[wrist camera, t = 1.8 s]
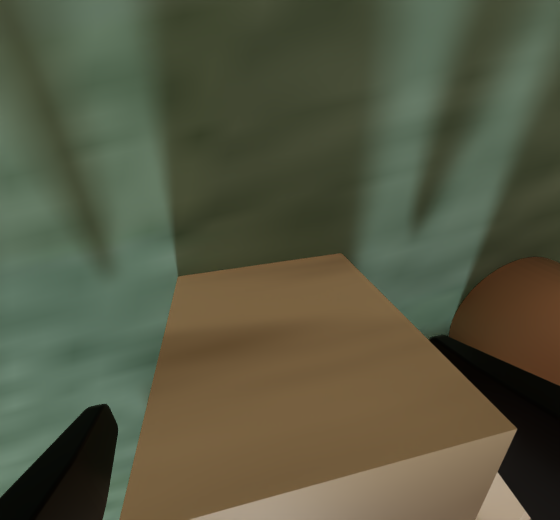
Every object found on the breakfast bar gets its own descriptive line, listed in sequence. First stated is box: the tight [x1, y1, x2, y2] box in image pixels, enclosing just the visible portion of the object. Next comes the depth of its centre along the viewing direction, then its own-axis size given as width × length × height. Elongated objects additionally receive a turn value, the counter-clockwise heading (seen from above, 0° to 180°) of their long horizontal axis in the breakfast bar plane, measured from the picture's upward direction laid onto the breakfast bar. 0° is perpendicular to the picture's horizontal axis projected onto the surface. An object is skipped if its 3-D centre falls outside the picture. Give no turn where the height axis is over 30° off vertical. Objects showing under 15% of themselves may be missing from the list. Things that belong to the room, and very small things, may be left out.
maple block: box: [120, 253, 517, 520], centre depth 7 cm, size 5×5×6 cm
